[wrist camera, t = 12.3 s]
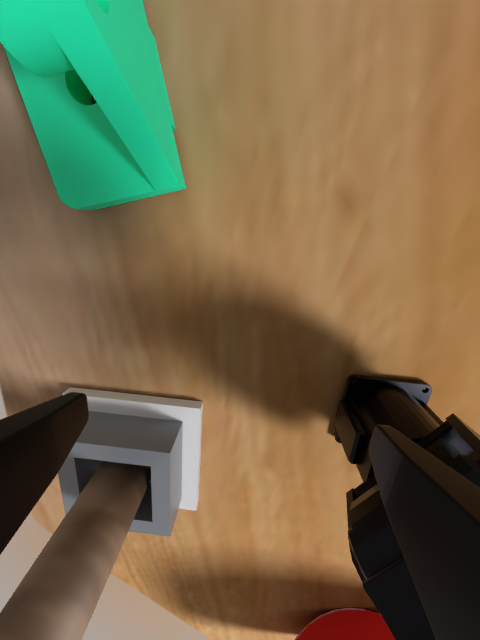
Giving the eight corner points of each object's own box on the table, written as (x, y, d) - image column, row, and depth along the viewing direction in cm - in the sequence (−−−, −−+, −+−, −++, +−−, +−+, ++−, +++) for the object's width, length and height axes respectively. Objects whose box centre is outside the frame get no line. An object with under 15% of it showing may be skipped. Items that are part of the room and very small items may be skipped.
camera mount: (15, -1, 16) (-371, -368, 6) (136, -43, 15) (-91, -553, 5) (88, 214, 19) (-82, 198, 10) (190, 190, 19) (114, 147, 9)
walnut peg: (166, 454, 25) (81, 665, 13) (142, 482, 26) (44, 695, 14) (125, 428, 24) (-5, 624, 12) (102, 458, 25) (-36, 661, 13)
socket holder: (202, 401, 24) (190, 439, 19) (198, 501, 28) (187, 550, 23) (69, 387, 24) (29, 420, 20) (83, 487, 28) (52, 533, 24)
